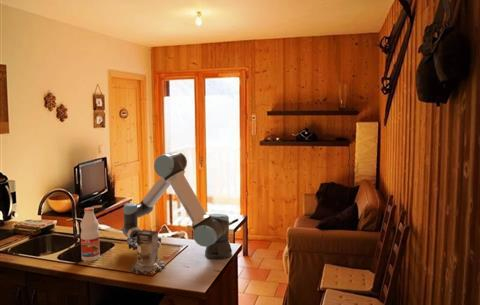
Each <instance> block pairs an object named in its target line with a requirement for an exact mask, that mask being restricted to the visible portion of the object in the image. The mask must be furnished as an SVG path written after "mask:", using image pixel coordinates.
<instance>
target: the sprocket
mask: <svg viewBox="0 0 480 305" xmlns="http://www.w3.org/2000/svg"><path fill="white" fill-rule="evenodd" d="M165 268H166V264H165V262H164V261H161V260H160V259H159V258H158V262H156V263H155V264H154V265H152V266H151V265H145V264H140V263H137V261H134V264H131V265H130V271H131V272H132V273H134V272H135V271H136V272H135V275H138V274H146V275H148V274H150V273H149V272H152V273H155V274H156V272H155V271H157V272H162V271H163V269H165ZM133 271H134V272H133ZM152 273H151V274H152Z"/></svg>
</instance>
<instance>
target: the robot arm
mask: <svg viewBox="0 0 480 305" xmlns="http://www.w3.org/2000/svg"><path fill="white" fill-rule="evenodd" d="M187 165H188V160H187V157H186V156H185V154H183V153H182V152H179V151H173V152H167V153H163V154H160V155H159V156H157V157H156V159H155V161H154V164H153V170H154V171H155V174H156V175H157V176H159V177H158V178H157V180H156V181H155V183H154V184H153V185H152V186H151V187H150V189H149V191H148V192H147V193H146V194H145V195H144V196H143V198H142V199H141V201H140V202H139V203H135V202H130V203H125V204H124V205H123V211H122V212H123V226H122V228H121V231H122V233H123V235H124V236H125V237H127V238H126V240H127V241H126V242H127V244H128V250H131V249H132V251H135V250H136V252H137V251H138V252H139V253H140V252H141V247H140V246H139V245H138V244H137V233H138V232H140V231H142V229H140V228H139V225H138V222H139V221H138V220H139V218H141V217H144V216H145V215H149V214H150V213H152V211H153V210H154V206H155V205H156V204H157V202H158V201H159V199H160V198H161V197H162V196H163V195H164V194H165V192H166V191H167V189H168V188H169V187H170V186H171V187H172V189H173V191H174V192H175V194H176V197H177V198H178V200H179V202H180V204H181V205H182V207H183V209H184V210H185V212H186V214H187V215H188V217H189V219H190V221H191V225H190V226H191V228H192V230H193V232H192V233H193V234H192V236H193V240H194V241H195V243H196V244H197V245H198V246H201V247H205V249H204V256H205V257H206V258H208V259H211V260H223V259H224V260H225V259H227V258H228V259H229V258H230V257H232V255H233V250H232V247H231V243H230V220H229V219H230V218H229V217H230V216H229V215H228V214H226V213H225V214H222V213H209V214H207V212H206V210H205V208H204V207H203V206H202V204H201V202H200V201H199V198H198V197H197V195H196V194H195V191H194V190H193V188H192V187H191V184H190V183H189V181H188V179H187V178H186V176H185V173H186V168H187ZM158 249H159V250H160V249H162V238H161V237H159V236H158Z"/></svg>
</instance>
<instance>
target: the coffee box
mask: <svg viewBox="0 0 480 305" xmlns="http://www.w3.org/2000/svg"><path fill="white" fill-rule="evenodd" d="M158 237H159V231H155V230H149V229H141V231H140V232H138V233H137V244H138V245H139V246H140V247H141V252H140V253H139V252H138V251H137V250H136V253H137V254H136V256H137V257H136V258H137V259H136V262H137V263H140V264H145V265H151V266H152V265H154V264H155V263H156V262H158V259H159V248H158Z"/></svg>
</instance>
